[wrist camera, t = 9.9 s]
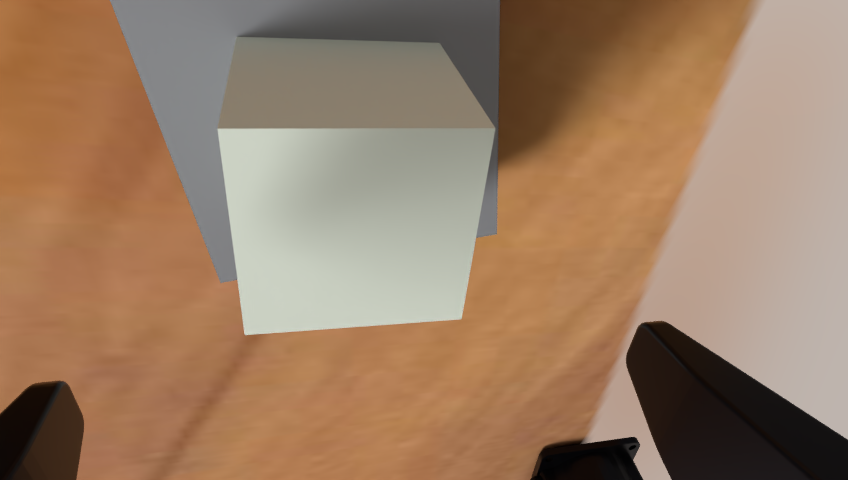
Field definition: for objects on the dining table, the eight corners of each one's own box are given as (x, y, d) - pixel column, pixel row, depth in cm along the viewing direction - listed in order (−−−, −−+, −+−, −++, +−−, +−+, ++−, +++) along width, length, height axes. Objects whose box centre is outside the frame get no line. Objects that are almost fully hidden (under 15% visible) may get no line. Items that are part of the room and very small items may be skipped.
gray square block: (460, -94, 17) (501, -70, 13) (466, 172, 22) (496, 234, 19) (137, -58, 16) (100, -23, 12) (229, 211, 21) (220, 282, 18)
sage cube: (439, 42, 15) (495, 128, 11) (422, 205, 18) (461, 318, 14) (236, 36, 14) (217, 128, 10) (253, 210, 17) (244, 335, 13)
